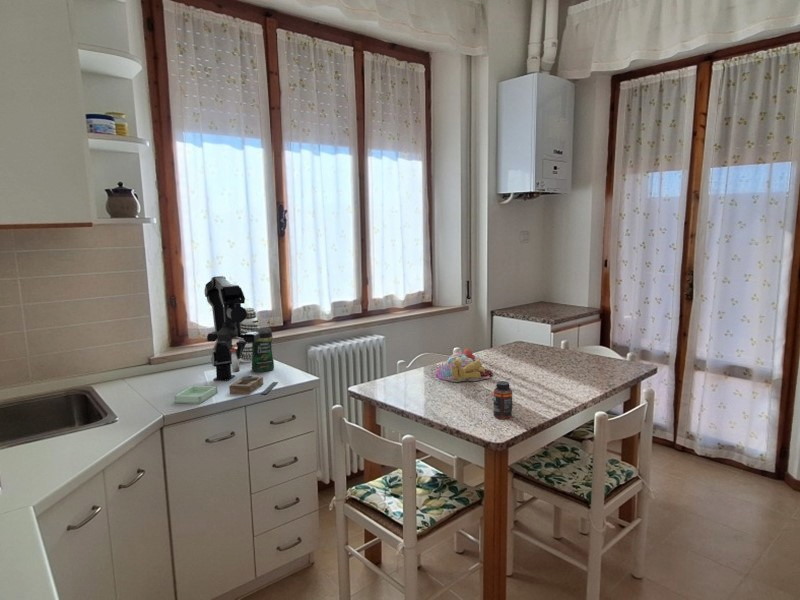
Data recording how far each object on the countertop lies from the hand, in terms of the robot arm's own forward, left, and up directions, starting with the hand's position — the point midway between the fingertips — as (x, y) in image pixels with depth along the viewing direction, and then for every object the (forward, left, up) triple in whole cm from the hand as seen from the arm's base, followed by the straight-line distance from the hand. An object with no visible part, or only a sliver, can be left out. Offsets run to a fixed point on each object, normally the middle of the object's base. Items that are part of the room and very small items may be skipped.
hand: (235, 358), depth 186 cm
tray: (+8, -12, -13) cm, 19 cm away
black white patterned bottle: (-45, -16, -13) cm, 50 cm away
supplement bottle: (+15, +99, -13) cm, 101 cm away
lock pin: (0, 0, -5) cm, 5 cm away
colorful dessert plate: (-31, +85, -14) cm, 91 cm away
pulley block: (-4, +2, -13) cm, 14 cm away
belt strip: (-5, +11, -13) cm, 18 cm away
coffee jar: (-30, -3, -13) cm, 32 cm away
